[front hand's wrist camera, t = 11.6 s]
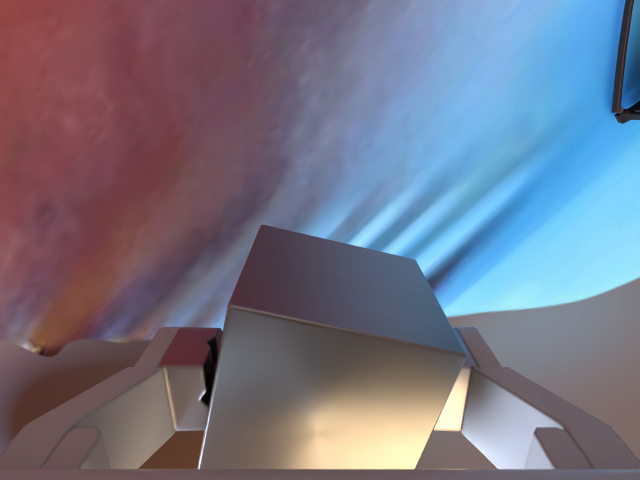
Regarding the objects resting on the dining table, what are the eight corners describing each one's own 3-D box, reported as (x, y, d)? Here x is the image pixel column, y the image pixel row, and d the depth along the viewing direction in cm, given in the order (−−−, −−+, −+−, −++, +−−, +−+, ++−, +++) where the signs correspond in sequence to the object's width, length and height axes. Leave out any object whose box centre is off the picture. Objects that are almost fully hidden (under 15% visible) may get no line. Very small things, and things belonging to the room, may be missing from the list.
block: (231, 368, 13) (190, 500, 9) (261, 223, 11) (227, 304, 7) (366, 394, 13) (387, 533, 9) (416, 258, 11) (469, 356, 7)
